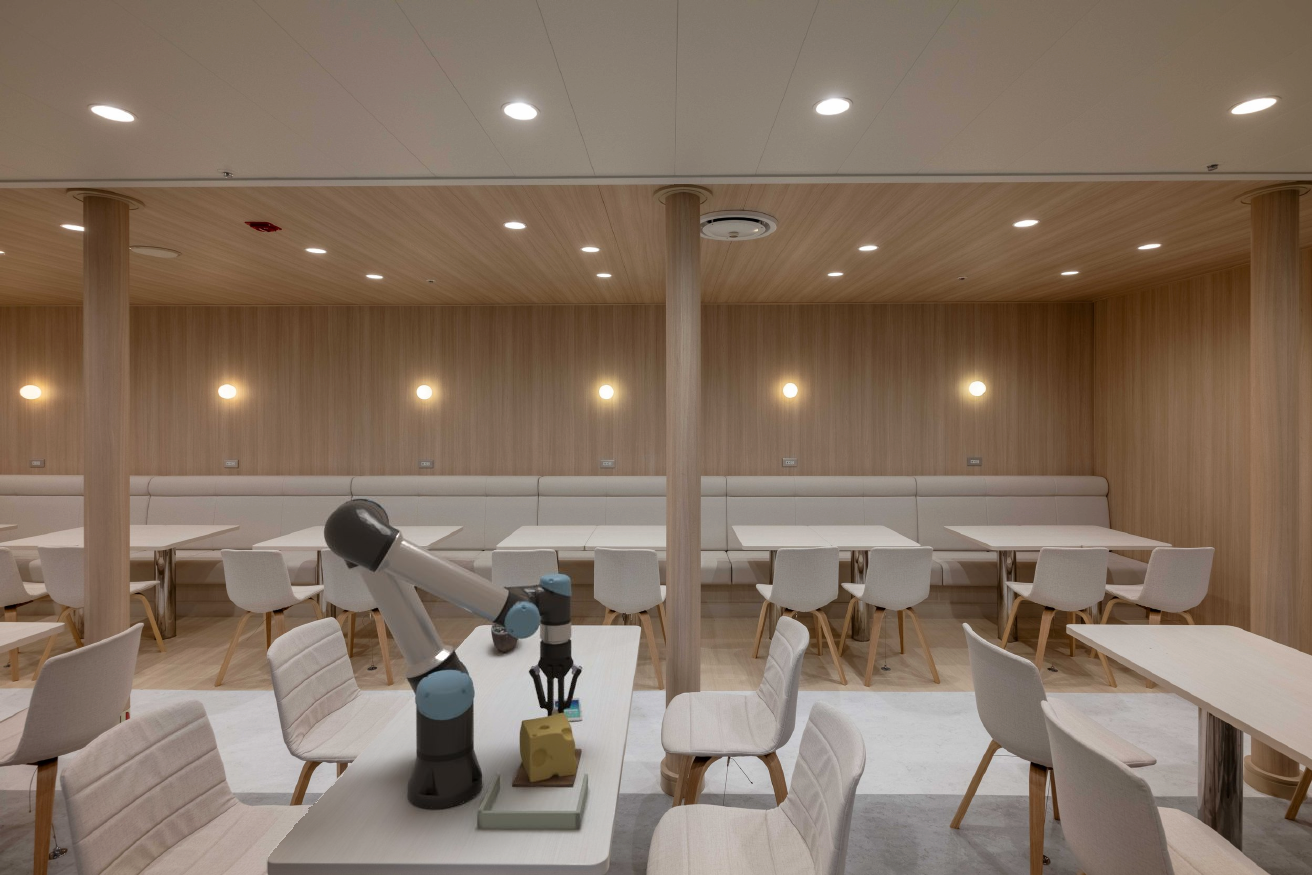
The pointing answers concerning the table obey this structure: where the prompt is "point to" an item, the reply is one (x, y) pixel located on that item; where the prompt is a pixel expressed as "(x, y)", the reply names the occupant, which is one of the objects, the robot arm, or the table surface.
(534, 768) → the cheese
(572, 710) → the smartphone
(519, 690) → the table surface
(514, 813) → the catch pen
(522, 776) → the serving board
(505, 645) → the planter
